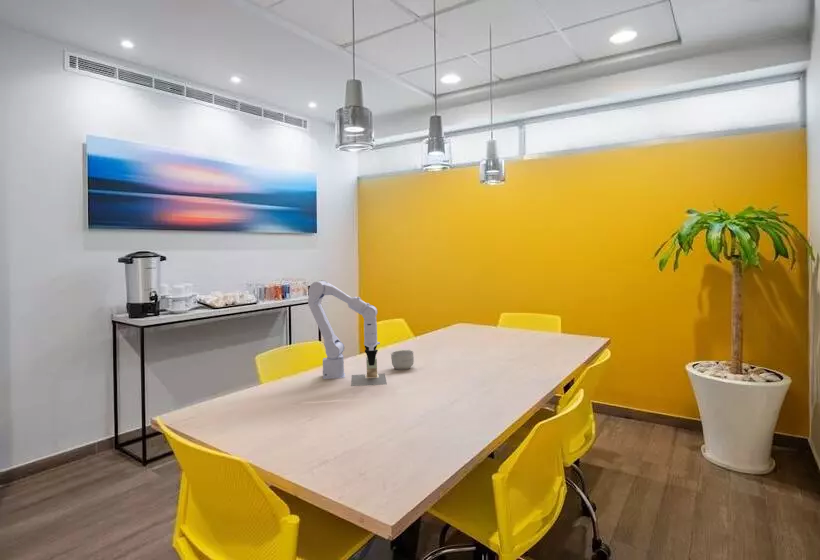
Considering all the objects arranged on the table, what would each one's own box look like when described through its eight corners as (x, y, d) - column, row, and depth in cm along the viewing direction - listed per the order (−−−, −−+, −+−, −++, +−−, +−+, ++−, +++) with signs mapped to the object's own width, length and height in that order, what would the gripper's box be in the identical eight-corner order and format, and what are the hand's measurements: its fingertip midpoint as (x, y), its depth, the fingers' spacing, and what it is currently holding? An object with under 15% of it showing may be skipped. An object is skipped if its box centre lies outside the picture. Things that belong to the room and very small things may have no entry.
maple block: (367, 377, 209) (366, 368, 209) (366, 374, 214) (366, 366, 213) (377, 377, 210) (377, 368, 209) (376, 374, 214) (376, 365, 214)
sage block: (366, 368, 209) (366, 359, 209) (366, 366, 213) (366, 357, 213) (376, 368, 209) (376, 359, 209) (376, 365, 214) (376, 356, 214)
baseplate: (351, 387, 197) (351, 385, 197) (351, 376, 214) (351, 374, 214) (386, 385, 199) (386, 383, 199) (384, 374, 216) (384, 373, 216)
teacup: (404, 372, 218) (404, 355, 217) (386, 369, 225) (386, 352, 224) (422, 366, 229) (421, 349, 229) (404, 363, 236) (404, 347, 235)
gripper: (380, 335, 204) (381, 366, 205) (378, 329, 218) (379, 358, 219) (363, 336, 203) (364, 367, 204) (363, 330, 217) (364, 359, 218)
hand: (371, 363), depth 211 cm, fingers open, 7 cm apart
